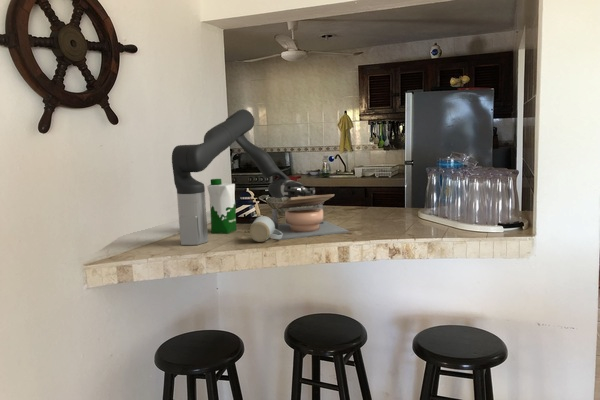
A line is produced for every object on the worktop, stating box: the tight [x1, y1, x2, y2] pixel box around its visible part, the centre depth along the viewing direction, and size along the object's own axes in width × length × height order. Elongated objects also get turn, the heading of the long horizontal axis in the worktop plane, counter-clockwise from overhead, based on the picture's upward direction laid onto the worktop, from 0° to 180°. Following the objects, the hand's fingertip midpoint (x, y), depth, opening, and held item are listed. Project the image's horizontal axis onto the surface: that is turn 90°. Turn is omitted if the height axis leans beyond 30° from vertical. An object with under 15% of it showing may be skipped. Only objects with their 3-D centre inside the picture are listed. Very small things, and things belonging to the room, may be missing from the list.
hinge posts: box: [271, 203, 324, 229], centre depth 176 cm, size 2×20×8 cm, turn 109°
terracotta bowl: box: [284, 207, 324, 232], centre depth 169 cm, size 14×14×7 cm
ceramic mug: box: [248, 215, 283, 243], centre depth 155 cm, size 11×8×8 cm
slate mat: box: [273, 219, 350, 241], centre depth 172 cm, size 26×26×1 cm
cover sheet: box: [276, 193, 335, 210], centre depth 168 cm, size 18×16×1 cm
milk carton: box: [206, 178, 237, 234], centre depth 173 cm, size 9×9×20 cm
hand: (307, 194), depth 164 cm, fingers closed
